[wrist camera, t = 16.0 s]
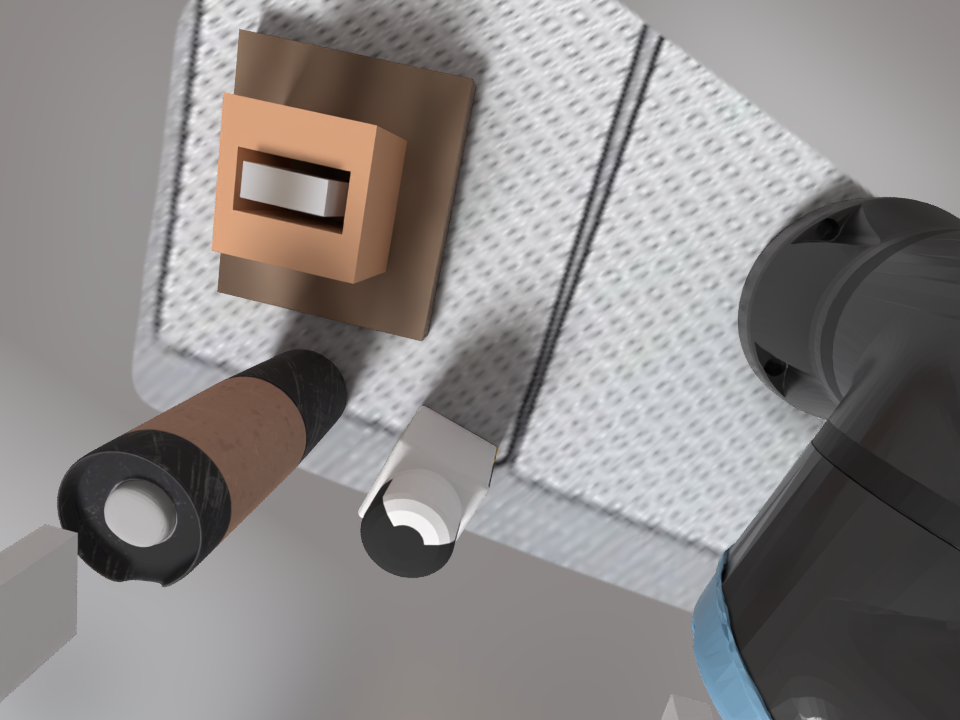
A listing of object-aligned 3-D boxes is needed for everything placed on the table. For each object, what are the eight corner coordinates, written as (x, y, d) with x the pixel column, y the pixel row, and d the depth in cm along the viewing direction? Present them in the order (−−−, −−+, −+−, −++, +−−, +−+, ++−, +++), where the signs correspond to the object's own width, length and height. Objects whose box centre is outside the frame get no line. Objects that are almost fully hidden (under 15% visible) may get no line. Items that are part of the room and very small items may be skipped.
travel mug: (302, 326, 44) (112, 415, 25) (369, 395, 45) (237, 533, 26) (242, 386, 46) (24, 511, 27) (308, 451, 47) (142, 619, 28)
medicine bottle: (457, 513, 47) (427, 612, 35) (383, 471, 46) (329, 557, 35) (499, 446, 45) (482, 528, 33) (422, 402, 44) (378, 469, 33)
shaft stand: (476, 86, 38) (452, 43, 28) (427, 335, 43) (393, 371, 33) (254, 38, 39) (158, -19, 29) (231, 288, 44) (143, 309, 34)
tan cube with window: (407, 140, 37) (376, 125, 31) (386, 271, 40) (353, 283, 33) (280, 113, 38) (223, 92, 31) (267, 244, 40) (211, 250, 34)
